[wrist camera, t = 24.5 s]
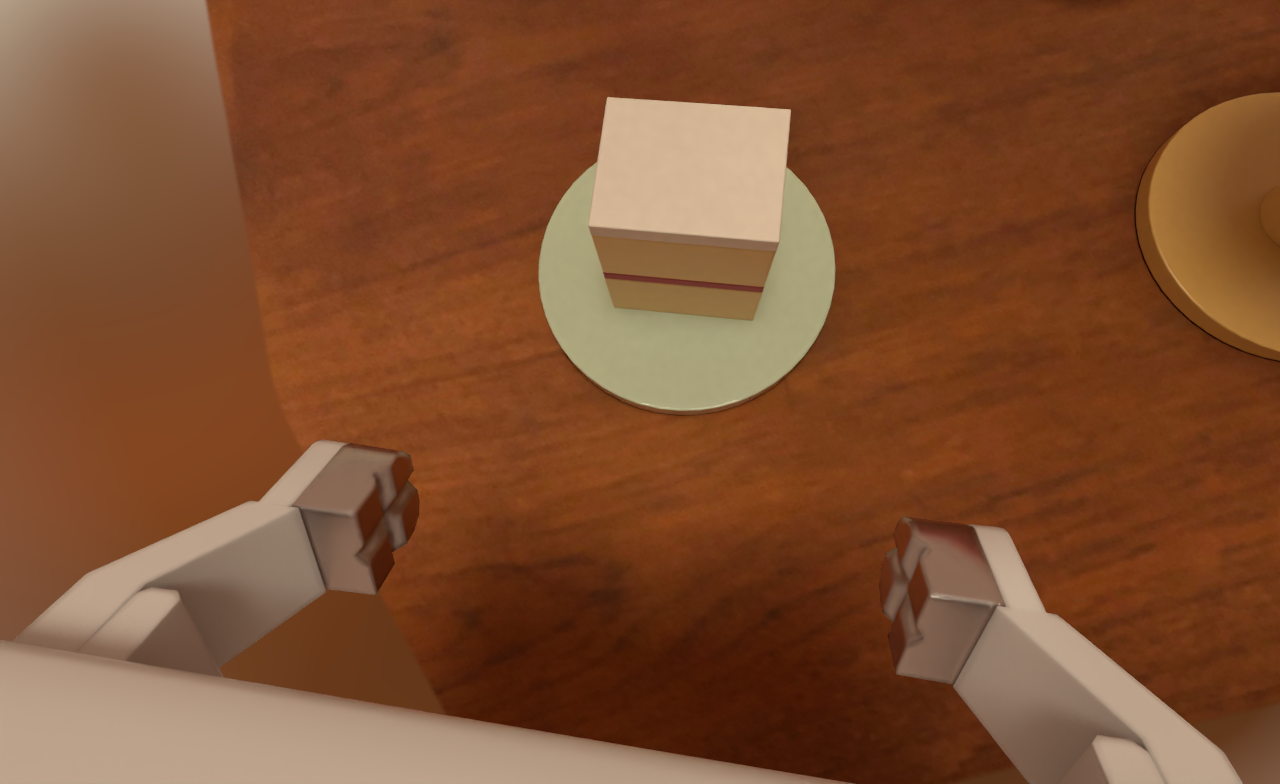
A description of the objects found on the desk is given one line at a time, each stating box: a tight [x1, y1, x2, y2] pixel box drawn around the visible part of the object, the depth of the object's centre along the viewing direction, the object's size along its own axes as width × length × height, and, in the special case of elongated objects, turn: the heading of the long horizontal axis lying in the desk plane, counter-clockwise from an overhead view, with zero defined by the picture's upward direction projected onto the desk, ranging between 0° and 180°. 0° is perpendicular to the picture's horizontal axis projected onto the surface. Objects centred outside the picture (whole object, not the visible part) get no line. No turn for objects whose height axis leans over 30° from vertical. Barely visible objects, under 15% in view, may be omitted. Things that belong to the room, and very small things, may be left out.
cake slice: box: [588, 97, 791, 321], centre depth 26 cm, size 5×6×8 cm
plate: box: [539, 163, 836, 415], centre depth 31 cm, size 14×14×1 cm
